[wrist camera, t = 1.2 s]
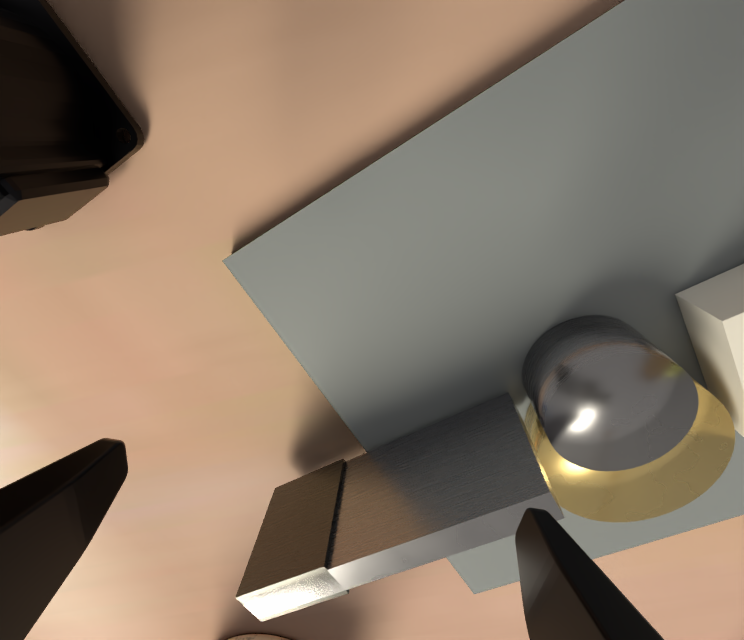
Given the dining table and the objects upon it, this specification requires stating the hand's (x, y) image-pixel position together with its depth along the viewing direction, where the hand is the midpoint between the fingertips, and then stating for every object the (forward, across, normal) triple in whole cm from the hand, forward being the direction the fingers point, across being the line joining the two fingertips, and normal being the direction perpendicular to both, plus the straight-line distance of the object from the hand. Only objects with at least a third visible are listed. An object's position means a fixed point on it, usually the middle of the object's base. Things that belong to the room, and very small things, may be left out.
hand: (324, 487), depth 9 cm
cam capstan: (+8, -6, +5) cm, 11 cm away
